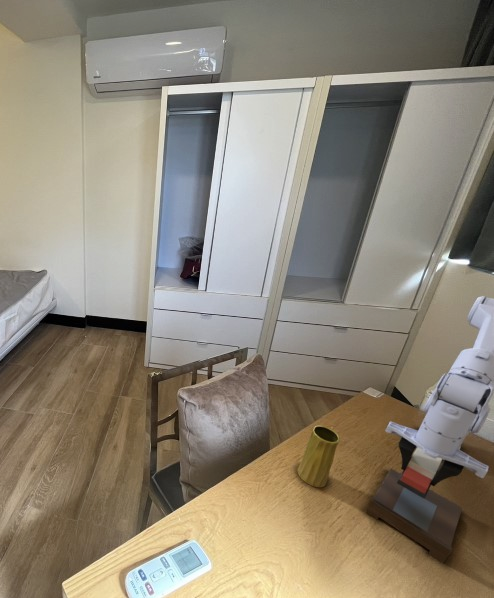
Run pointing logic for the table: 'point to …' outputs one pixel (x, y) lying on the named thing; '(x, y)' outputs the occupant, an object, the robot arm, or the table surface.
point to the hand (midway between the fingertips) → (417, 474)
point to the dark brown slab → (417, 515)
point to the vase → (318, 456)
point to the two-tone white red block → (419, 473)
